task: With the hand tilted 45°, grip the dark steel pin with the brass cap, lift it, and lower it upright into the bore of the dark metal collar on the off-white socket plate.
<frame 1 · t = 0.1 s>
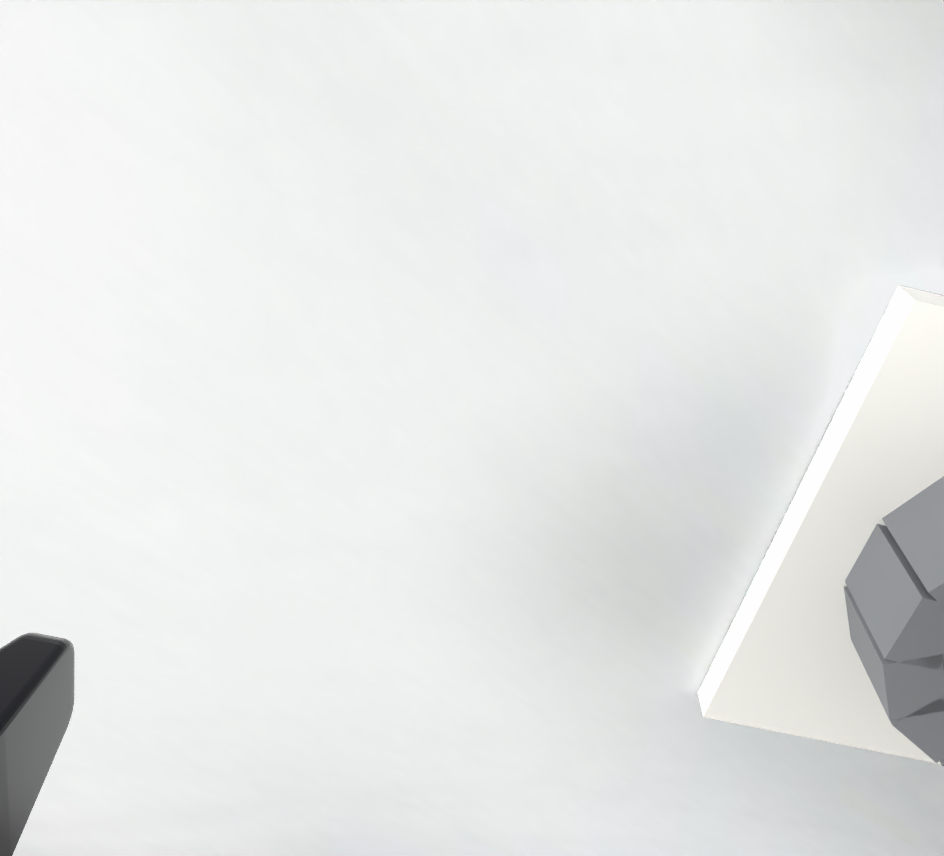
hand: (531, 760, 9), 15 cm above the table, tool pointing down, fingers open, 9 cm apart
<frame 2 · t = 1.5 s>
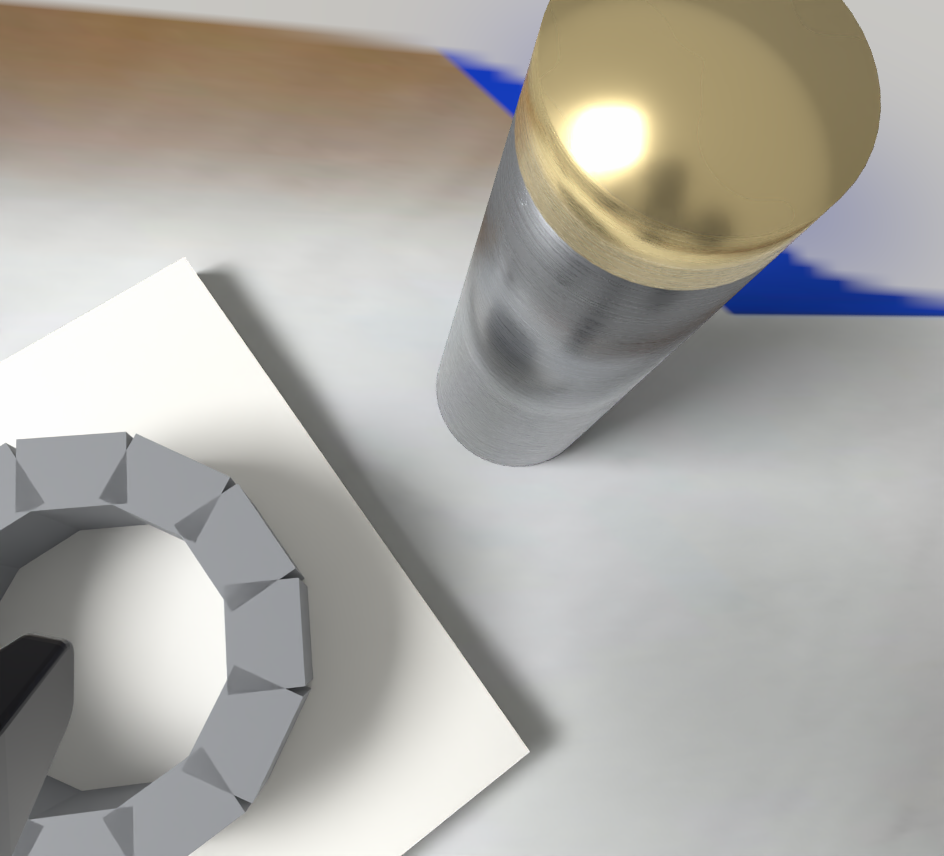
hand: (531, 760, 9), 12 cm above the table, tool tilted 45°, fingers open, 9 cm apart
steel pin: (514, 389, 22), on the table
socket plate: (128, 652, 20), on the table
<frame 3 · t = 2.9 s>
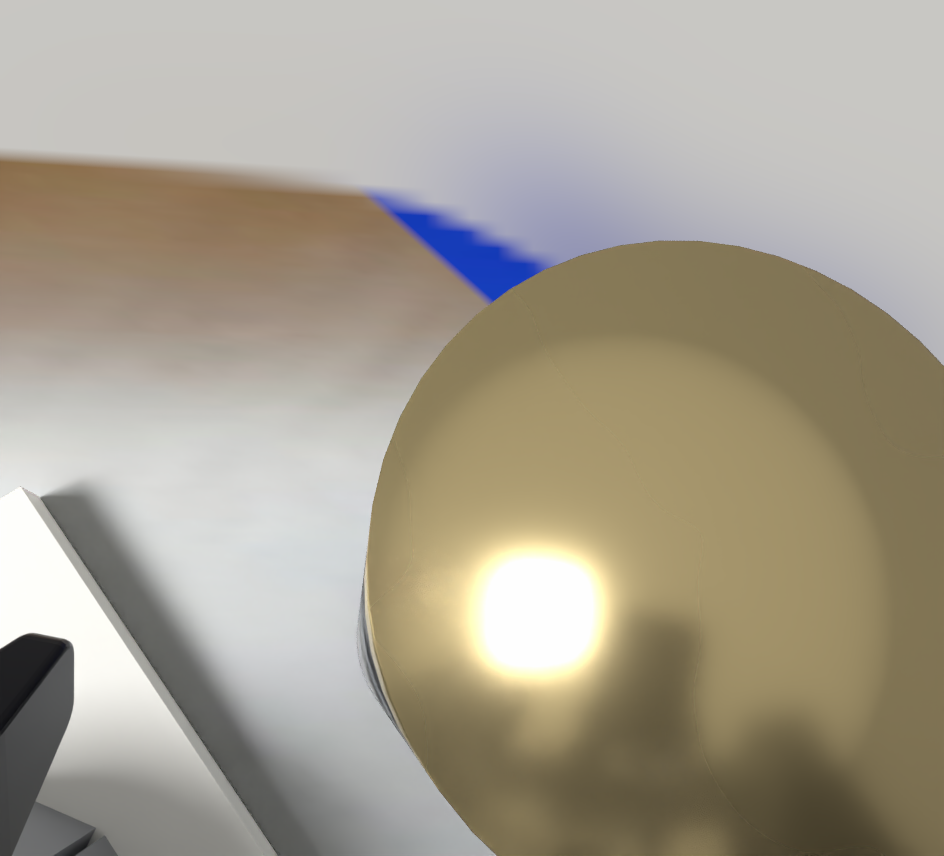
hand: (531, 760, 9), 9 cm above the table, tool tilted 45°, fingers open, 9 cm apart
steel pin: (458, 634, 17), on the table
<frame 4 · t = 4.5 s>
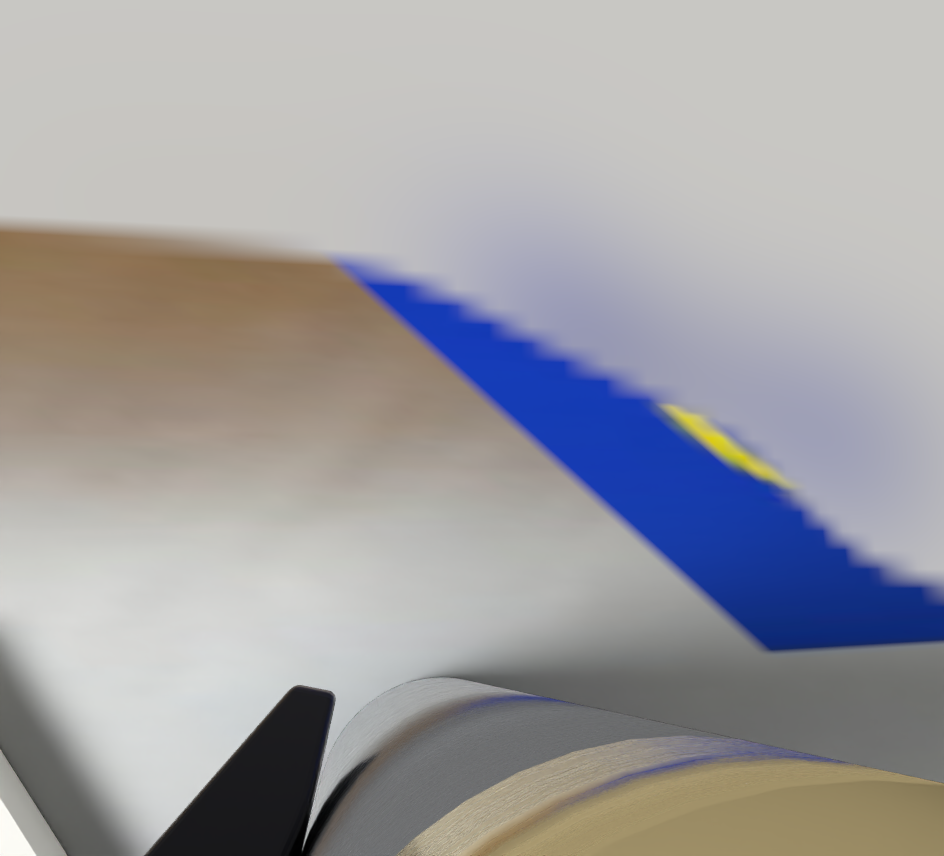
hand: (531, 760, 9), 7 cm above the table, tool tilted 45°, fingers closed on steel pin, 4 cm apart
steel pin: (440, 803, 15), on the table, touching gripper
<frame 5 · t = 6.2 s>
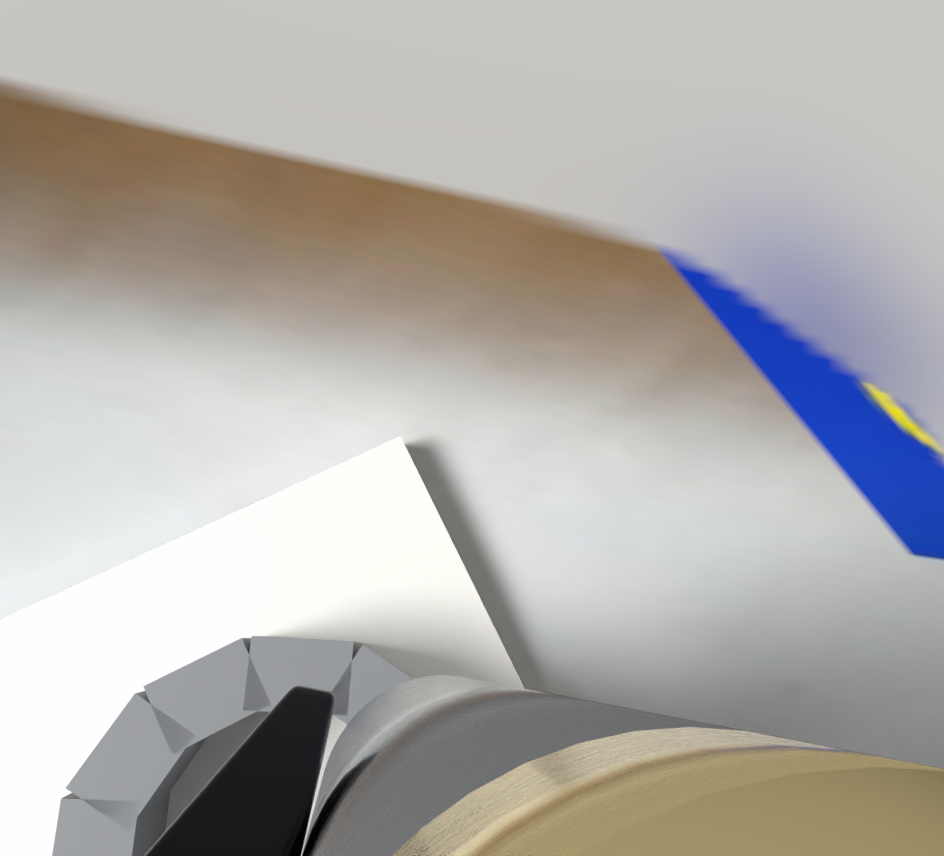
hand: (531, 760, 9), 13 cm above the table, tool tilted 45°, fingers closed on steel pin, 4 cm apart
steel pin: (441, 800, 15), point 7 cm above the table, touching gripper
socket plate: (295, 821, 20), on the table
when the fingers open (8 cm above the table, at t = 8.0 s): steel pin stays where it is, resting on socket plate.
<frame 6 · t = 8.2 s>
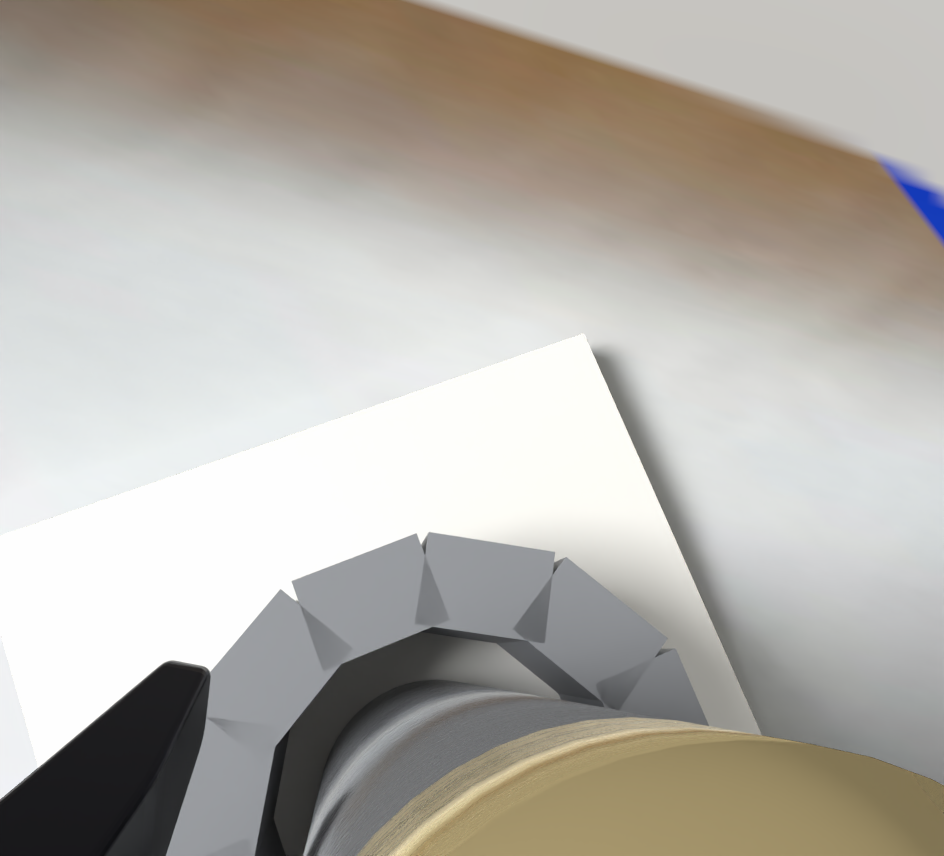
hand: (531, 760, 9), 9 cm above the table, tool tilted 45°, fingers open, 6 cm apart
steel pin: (434, 798, 15), point 1 cm above the table, touching socket plate
socket plate: (431, 785, 16), on the table
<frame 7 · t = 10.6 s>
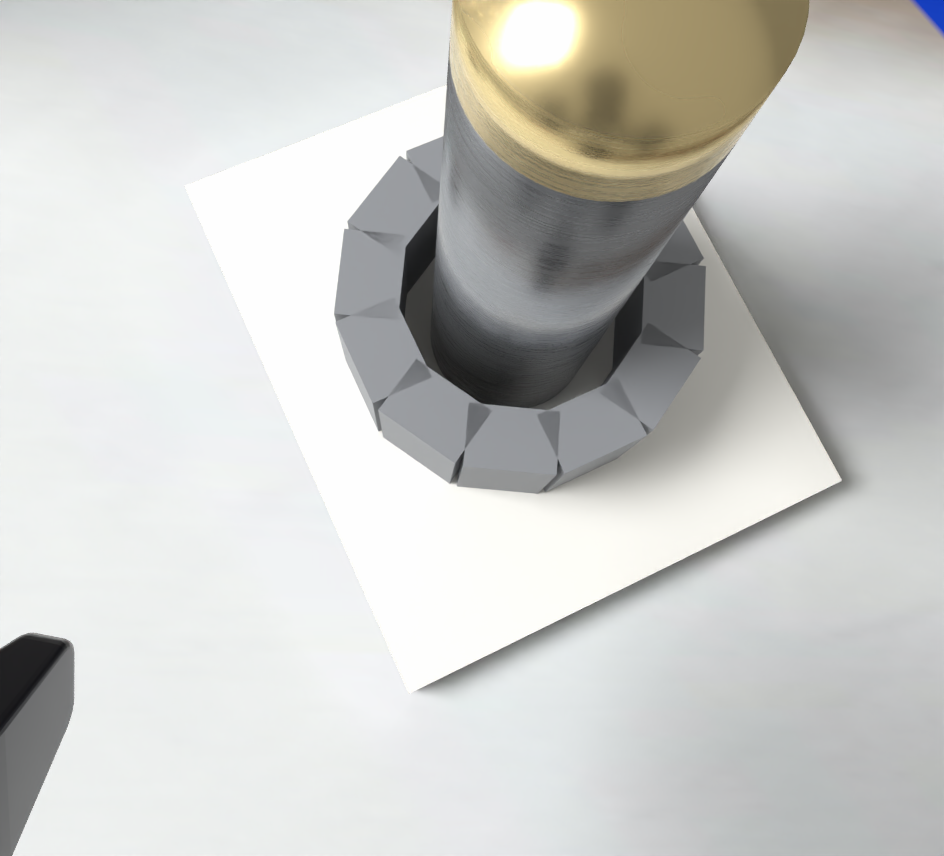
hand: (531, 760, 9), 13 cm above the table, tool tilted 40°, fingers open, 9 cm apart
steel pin: (508, 333, 23), point 1 cm above the table, touching socket plate
socket plate: (505, 343, 24), on the table
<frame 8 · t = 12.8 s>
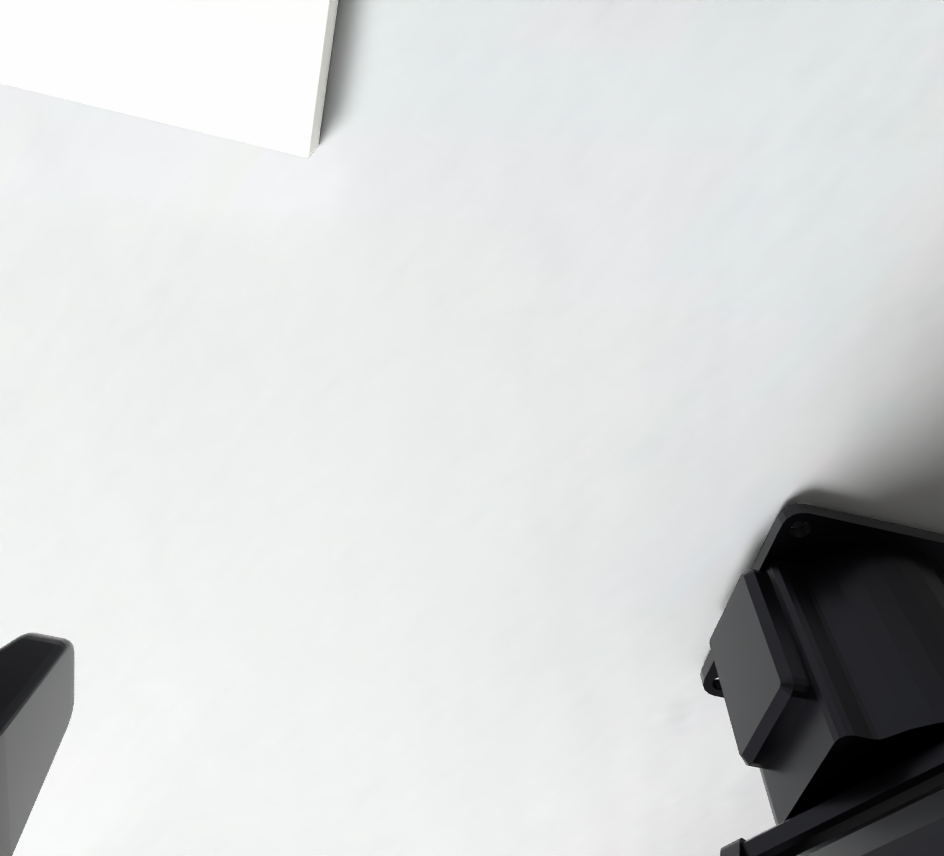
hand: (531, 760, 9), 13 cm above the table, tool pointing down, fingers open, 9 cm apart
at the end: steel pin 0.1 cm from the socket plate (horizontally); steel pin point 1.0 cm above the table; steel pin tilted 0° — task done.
